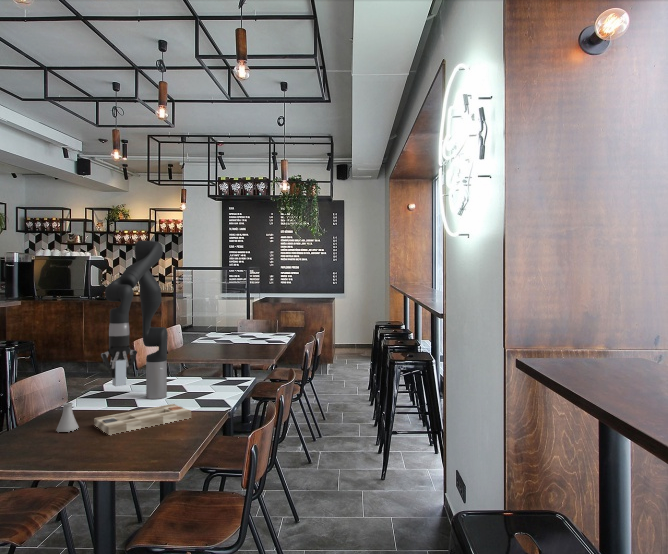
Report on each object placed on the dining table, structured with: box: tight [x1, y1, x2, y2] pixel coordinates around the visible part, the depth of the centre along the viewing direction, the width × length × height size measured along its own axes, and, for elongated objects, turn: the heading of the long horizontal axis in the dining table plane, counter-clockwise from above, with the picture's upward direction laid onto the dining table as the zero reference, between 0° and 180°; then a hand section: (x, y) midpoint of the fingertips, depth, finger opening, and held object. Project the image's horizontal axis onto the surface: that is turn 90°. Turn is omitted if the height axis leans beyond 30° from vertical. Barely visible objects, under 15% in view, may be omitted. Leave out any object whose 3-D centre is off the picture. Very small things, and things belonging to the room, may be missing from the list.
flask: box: [55, 402, 80, 433], centre depth 184 cm, size 7×7×10 cm
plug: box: [111, 359, 127, 387], centre depth 198 cm, size 4×4×10 cm
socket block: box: [93, 403, 192, 436], centre depth 194 cm, size 16×32×3 cm, turn 133°
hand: (119, 376), depth 198 cm, fingers closed on plug, 4 cm apart
